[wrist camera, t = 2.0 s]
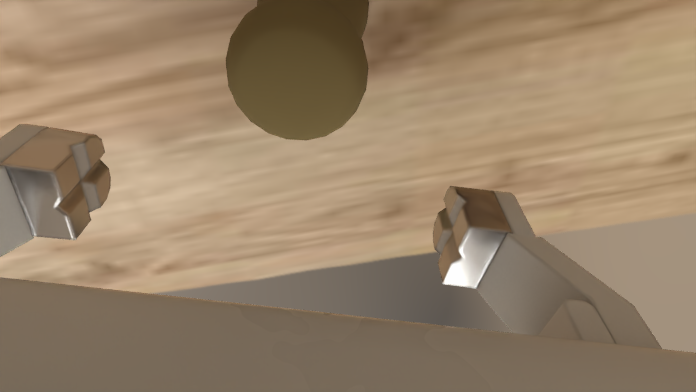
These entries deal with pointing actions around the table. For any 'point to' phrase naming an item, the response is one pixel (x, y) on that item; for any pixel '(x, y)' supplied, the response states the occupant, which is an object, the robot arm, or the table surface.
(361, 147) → the table surface
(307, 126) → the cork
